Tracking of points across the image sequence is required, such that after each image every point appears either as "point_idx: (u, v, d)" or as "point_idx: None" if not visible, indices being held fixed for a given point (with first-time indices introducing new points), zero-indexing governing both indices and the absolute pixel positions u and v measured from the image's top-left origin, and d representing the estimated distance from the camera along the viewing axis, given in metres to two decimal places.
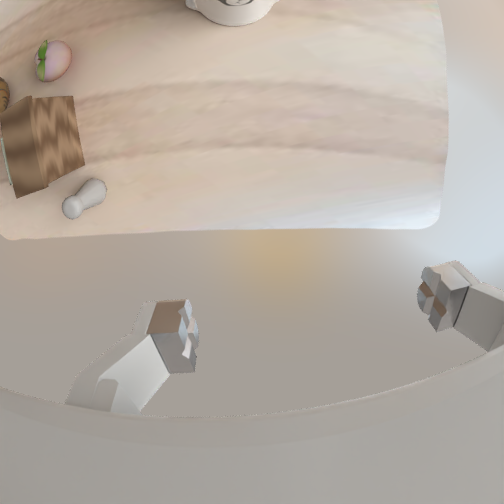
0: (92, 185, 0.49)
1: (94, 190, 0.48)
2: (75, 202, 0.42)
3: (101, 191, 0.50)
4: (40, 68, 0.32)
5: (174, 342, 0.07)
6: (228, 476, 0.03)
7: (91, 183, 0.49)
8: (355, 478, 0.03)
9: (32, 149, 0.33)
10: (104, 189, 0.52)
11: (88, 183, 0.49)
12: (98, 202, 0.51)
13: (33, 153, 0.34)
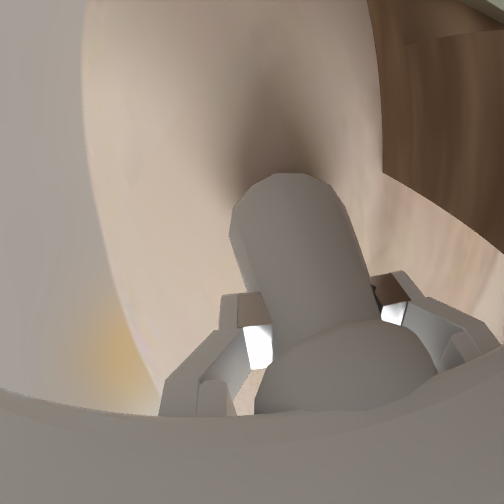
0: None
1: None
2: None
3: None
4: None
5: (267, 335, 0.07)
6: (228, 476, 0.03)
7: None
8: (355, 478, 0.03)
9: None
10: None
11: None
12: None
13: None
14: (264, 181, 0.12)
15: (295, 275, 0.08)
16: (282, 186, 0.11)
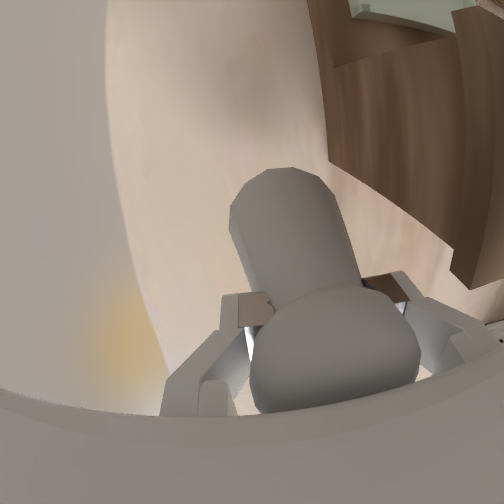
0: None
1: None
2: None
3: None
4: None
5: None
6: (228, 476, 0.03)
7: None
8: (355, 478, 0.03)
9: None
10: None
11: None
12: None
13: None
14: (256, 177, 0.13)
15: (282, 255, 0.09)
16: (272, 180, 0.12)
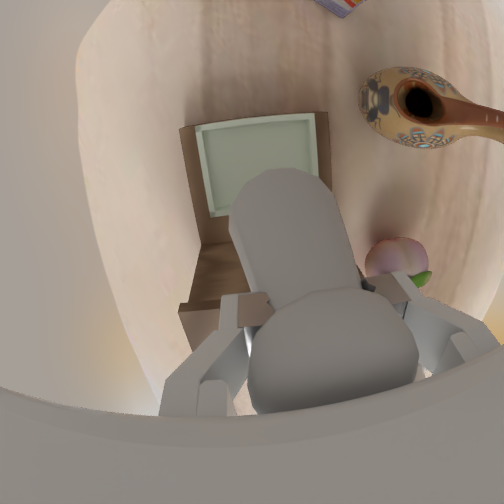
0: None
1: None
2: None
3: None
4: None
5: None
6: (228, 476, 0.03)
7: None
8: (355, 478, 0.03)
9: None
10: None
11: None
12: None
13: None
14: (256, 178, 0.13)
15: (281, 256, 0.09)
16: (272, 180, 0.12)
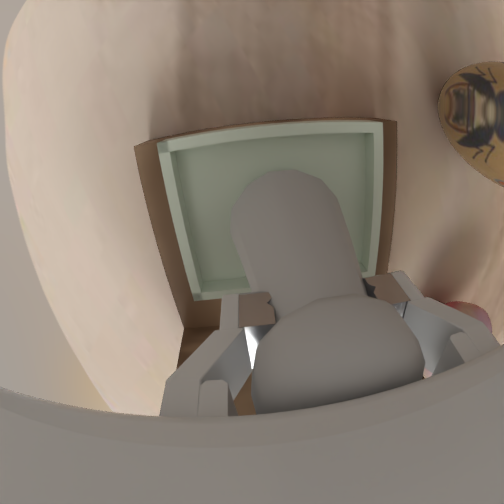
0: None
1: None
2: None
3: None
4: None
5: None
6: (228, 476, 0.03)
7: None
8: (355, 478, 0.03)
9: None
10: None
11: None
12: None
13: None
14: (258, 180, 0.13)
15: (284, 261, 0.08)
16: (274, 183, 0.12)
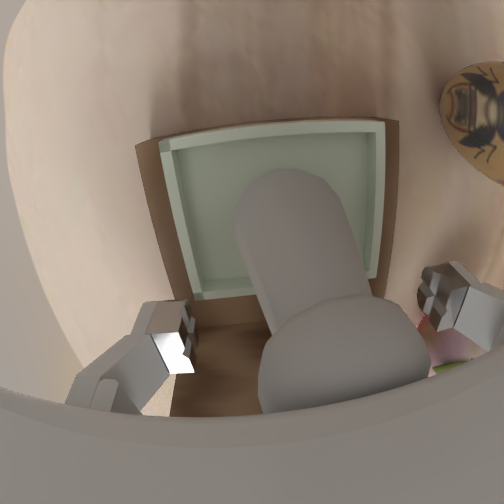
0: None
1: None
2: None
3: None
4: None
5: (174, 342, 0.07)
6: (228, 476, 0.03)
7: None
8: (356, 478, 0.03)
9: None
10: None
11: None
12: None
13: None
14: (260, 179, 0.13)
15: (289, 262, 0.08)
16: (277, 182, 0.12)
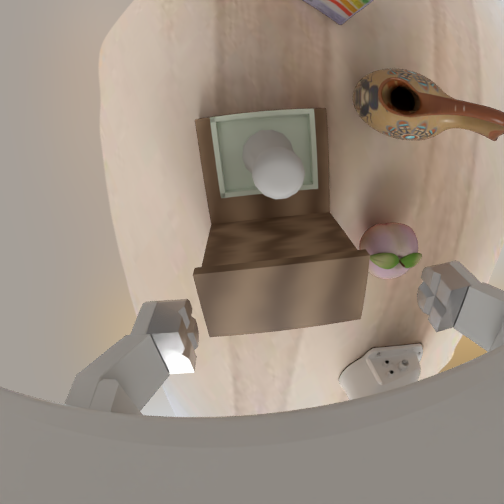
0: None
1: None
2: (294, 193, 0.23)
3: None
4: (389, 263, 0.35)
5: (174, 342, 0.07)
6: (228, 476, 0.03)
7: None
8: (355, 478, 0.03)
9: (276, 326, 0.29)
10: None
11: None
12: None
13: (268, 326, 0.29)
14: (255, 133, 0.29)
15: (263, 149, 0.25)
16: (261, 133, 0.28)
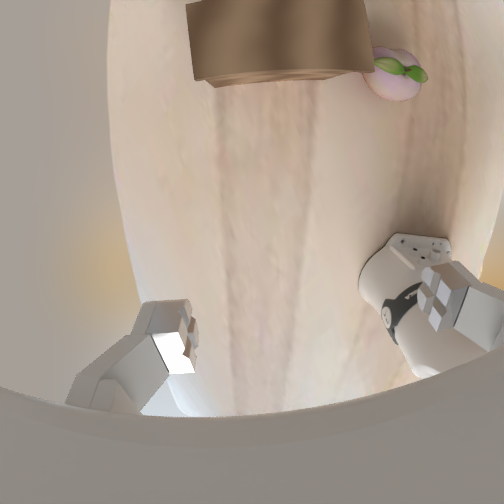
0: None
1: None
2: None
3: None
4: (394, 67, 0.26)
5: (174, 342, 0.07)
6: (228, 476, 0.03)
7: None
8: (355, 478, 0.03)
9: (275, 62, 0.21)
10: None
11: None
12: None
13: (266, 62, 0.21)
14: None
15: None
16: None
